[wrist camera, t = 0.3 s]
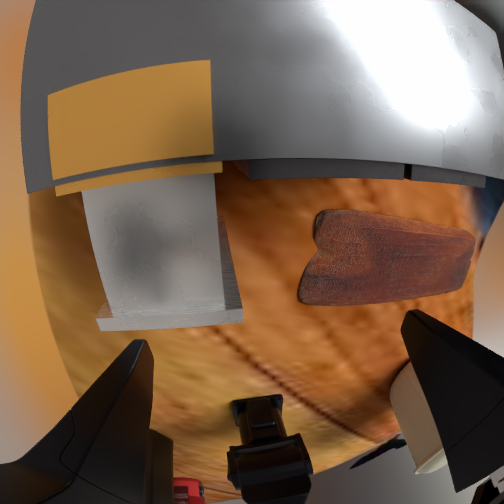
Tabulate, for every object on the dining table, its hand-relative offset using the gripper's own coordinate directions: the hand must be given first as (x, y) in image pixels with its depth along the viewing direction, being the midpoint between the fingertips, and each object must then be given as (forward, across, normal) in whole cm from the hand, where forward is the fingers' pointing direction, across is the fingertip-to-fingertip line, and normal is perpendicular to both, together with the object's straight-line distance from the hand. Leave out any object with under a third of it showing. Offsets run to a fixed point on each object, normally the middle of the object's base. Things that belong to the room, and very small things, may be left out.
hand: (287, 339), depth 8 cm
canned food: (+9, +17, +59) cm, 63 cm away
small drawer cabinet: (+15, -1, -8) cm, 18 cm away
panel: (+13, +5, -3) cm, 14 cm away
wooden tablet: (+16, -18, +8) cm, 25 cm away
